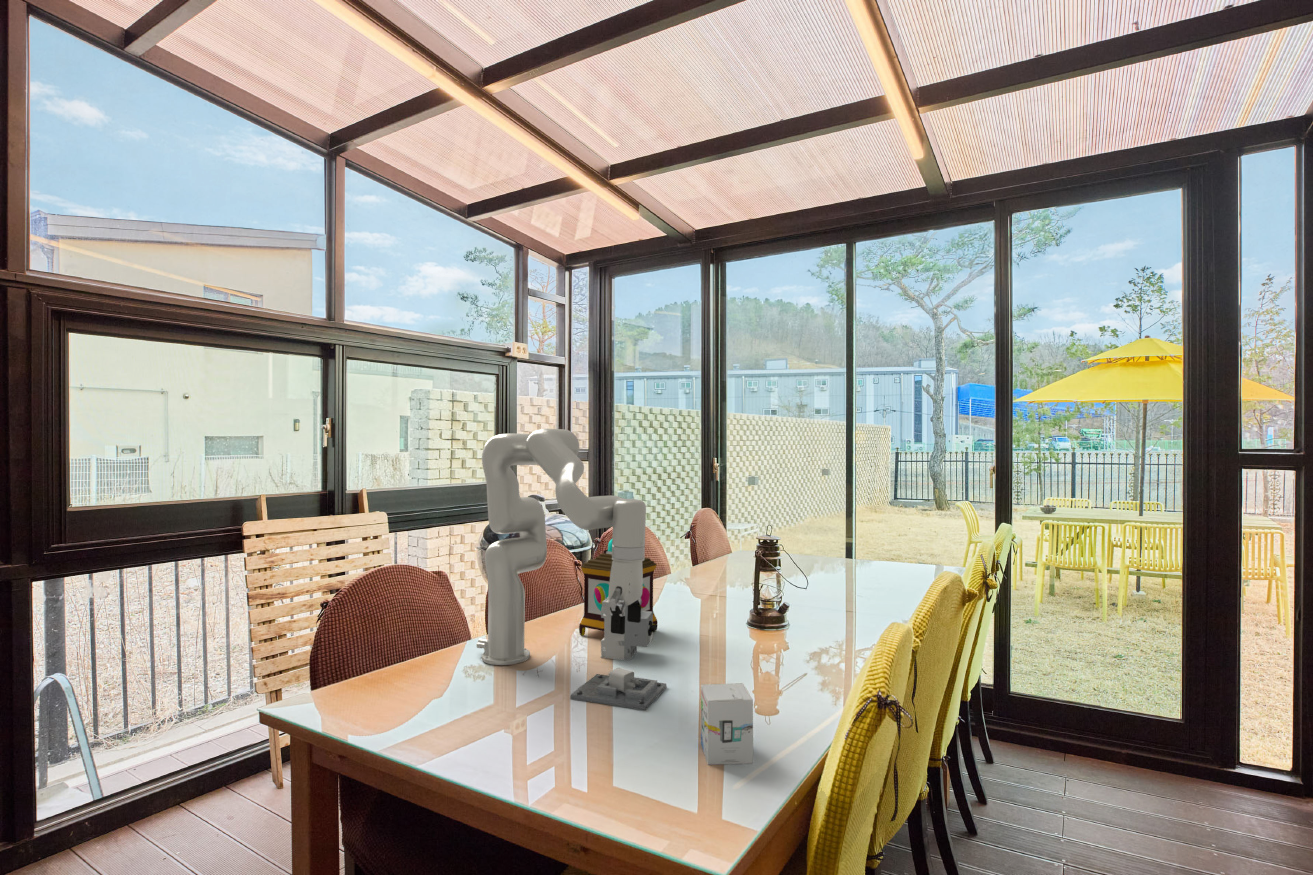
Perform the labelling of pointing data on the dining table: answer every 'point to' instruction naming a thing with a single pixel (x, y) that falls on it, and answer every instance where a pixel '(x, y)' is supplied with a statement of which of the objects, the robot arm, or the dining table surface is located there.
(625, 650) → the circuit breaker
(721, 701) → the ink box
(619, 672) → the usb wall charger
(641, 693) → the plate
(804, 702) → the dining table surface
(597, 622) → the decorative lantern
